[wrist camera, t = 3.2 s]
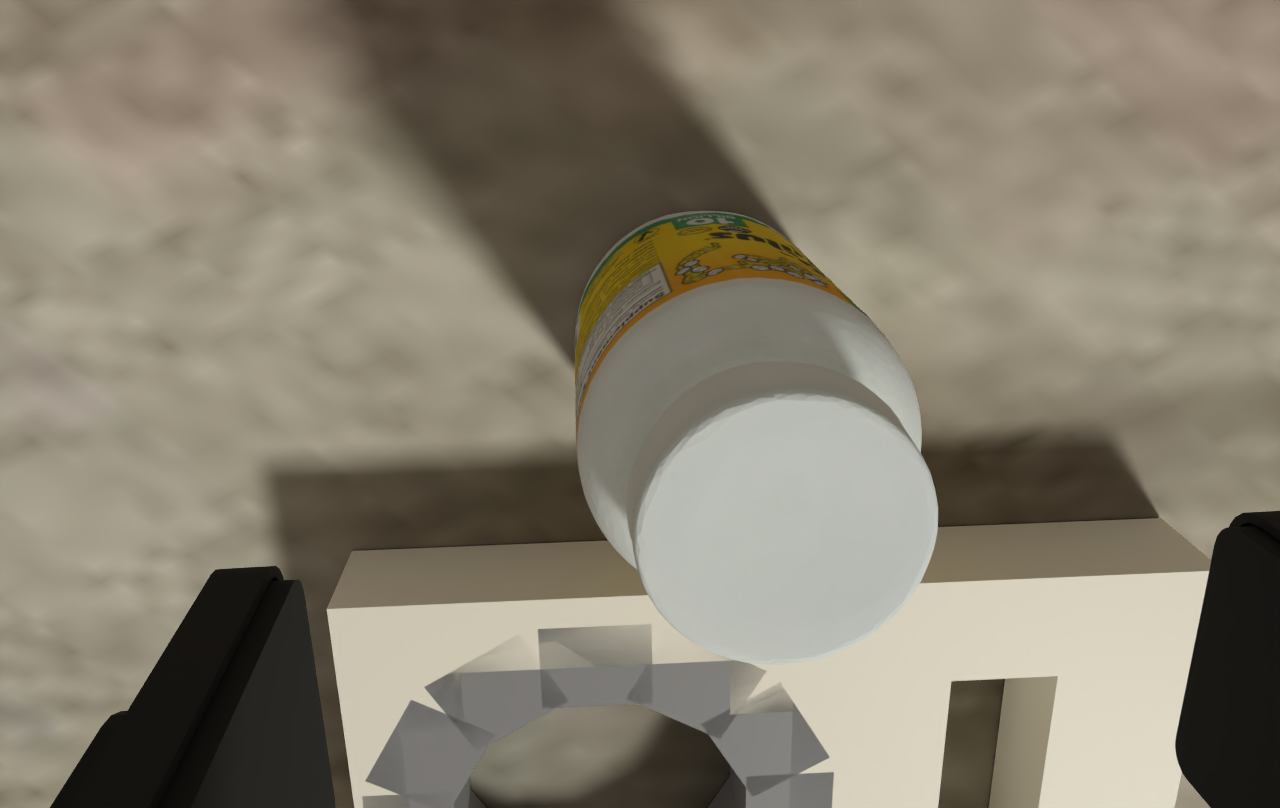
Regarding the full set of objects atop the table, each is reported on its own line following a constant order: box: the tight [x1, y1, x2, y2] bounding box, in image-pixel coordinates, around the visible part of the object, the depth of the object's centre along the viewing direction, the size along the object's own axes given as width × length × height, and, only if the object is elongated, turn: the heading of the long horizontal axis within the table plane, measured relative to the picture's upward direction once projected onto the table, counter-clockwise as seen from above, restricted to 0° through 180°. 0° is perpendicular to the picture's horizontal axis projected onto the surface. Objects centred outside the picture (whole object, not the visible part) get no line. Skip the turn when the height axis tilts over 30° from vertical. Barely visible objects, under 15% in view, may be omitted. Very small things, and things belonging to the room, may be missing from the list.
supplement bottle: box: [575, 211, 938, 665], centre depth 18 cm, size 5×5×10 cm
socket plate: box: [327, 518, 1211, 808], centre depth 25 cm, size 19×12×2 cm, turn 91°
